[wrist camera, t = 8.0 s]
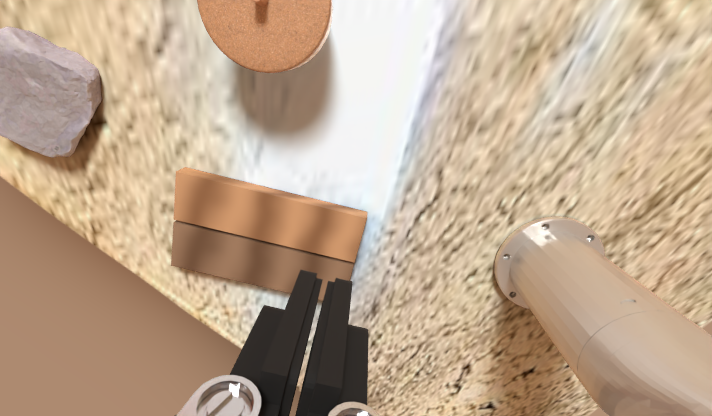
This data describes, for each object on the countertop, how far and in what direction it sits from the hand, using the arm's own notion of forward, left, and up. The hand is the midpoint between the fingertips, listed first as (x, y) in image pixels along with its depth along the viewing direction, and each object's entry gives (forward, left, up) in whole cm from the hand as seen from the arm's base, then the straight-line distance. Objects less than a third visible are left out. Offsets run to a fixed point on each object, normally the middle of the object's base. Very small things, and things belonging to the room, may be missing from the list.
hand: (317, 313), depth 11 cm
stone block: (+34, +3, -30) cm, 45 cm away
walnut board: (+8, +17, -29) cm, 34 cm away
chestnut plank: (+8, +10, -29) cm, 32 cm away
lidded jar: (+10, -11, -29) cm, 33 cm away
